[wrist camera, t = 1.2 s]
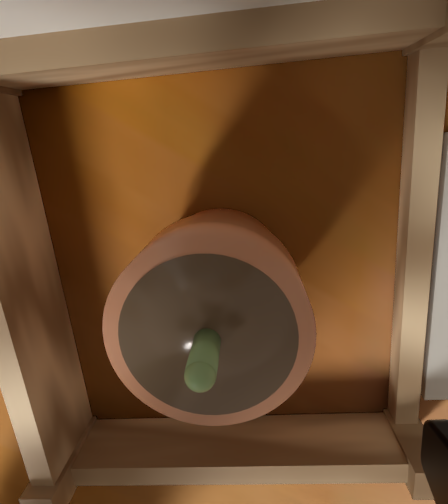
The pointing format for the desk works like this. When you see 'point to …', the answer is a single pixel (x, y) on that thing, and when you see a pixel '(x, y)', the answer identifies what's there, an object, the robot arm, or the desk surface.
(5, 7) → the lid pane
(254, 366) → the seedling pot
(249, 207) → the desk surface
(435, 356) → the stone tile
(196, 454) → the frame
